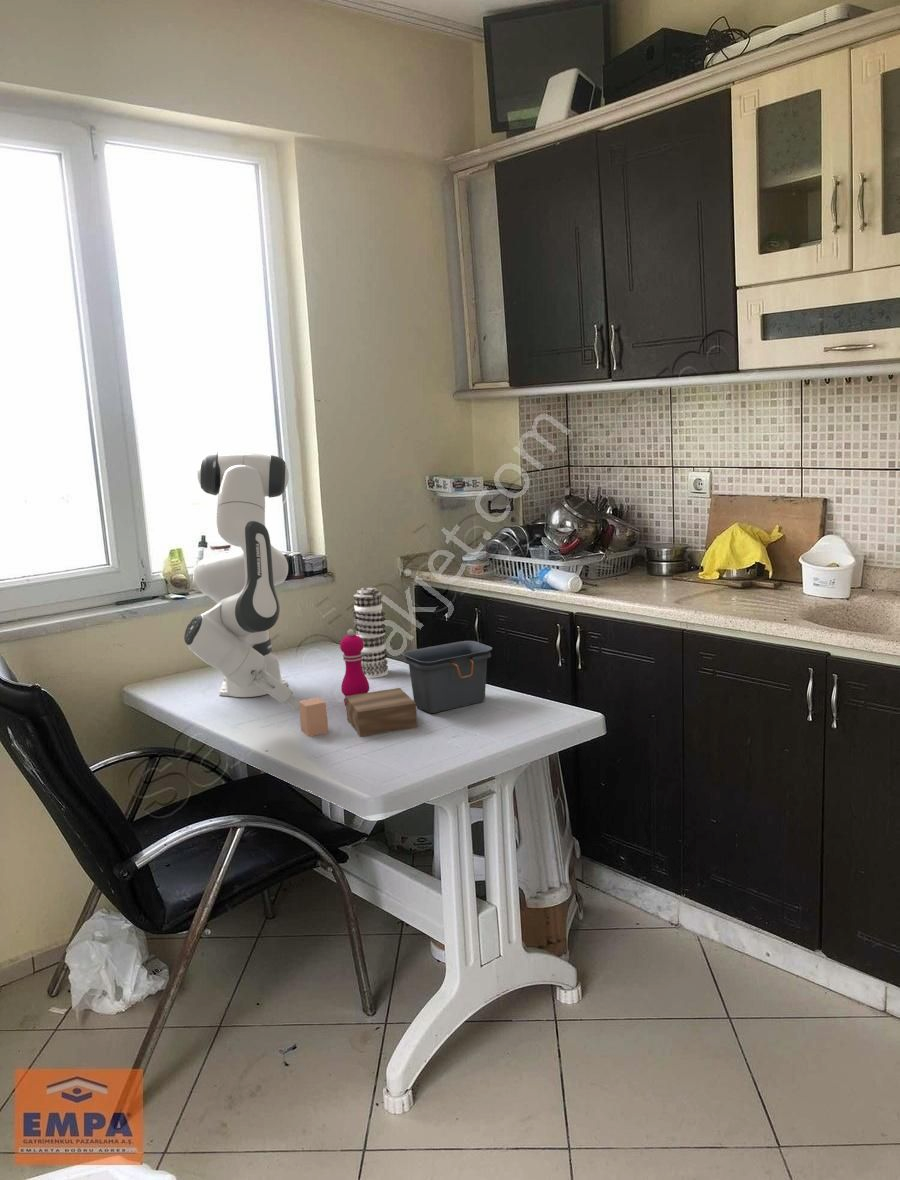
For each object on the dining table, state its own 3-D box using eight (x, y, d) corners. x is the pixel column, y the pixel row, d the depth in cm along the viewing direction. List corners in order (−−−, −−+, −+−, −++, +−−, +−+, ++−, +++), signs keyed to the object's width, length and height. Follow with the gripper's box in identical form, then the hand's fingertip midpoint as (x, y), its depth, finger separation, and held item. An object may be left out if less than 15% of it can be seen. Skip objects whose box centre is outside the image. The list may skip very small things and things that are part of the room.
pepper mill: (366, 708, 243) (360, 632, 239) (339, 708, 244) (332, 632, 240) (373, 700, 250) (368, 625, 246) (347, 699, 251) (341, 626, 247)
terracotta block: (301, 731, 229) (298, 701, 227) (320, 726, 231) (318, 697, 230) (308, 736, 224) (305, 706, 223) (328, 732, 227) (325, 702, 225)
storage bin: (471, 690, 253) (468, 638, 251) (504, 703, 240) (502, 648, 238) (401, 706, 243) (397, 652, 240) (432, 722, 230) (428, 664, 227)
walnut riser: (347, 719, 235) (345, 696, 234) (401, 710, 239) (399, 687, 238) (360, 736, 222) (358, 712, 221) (417, 727, 226) (415, 703, 225)
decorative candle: (351, 674, 276) (344, 589, 271) (378, 667, 281) (372, 584, 276) (368, 680, 268) (361, 593, 264) (395, 673, 274) (389, 588, 269)
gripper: (268, 665, 209) (314, 699, 215) (242, 648, 227) (285, 679, 233) (251, 688, 208) (297, 722, 214) (225, 669, 225) (269, 700, 232)
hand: (291, 700), depth 224 cm, fingers open, 8 cm apart
